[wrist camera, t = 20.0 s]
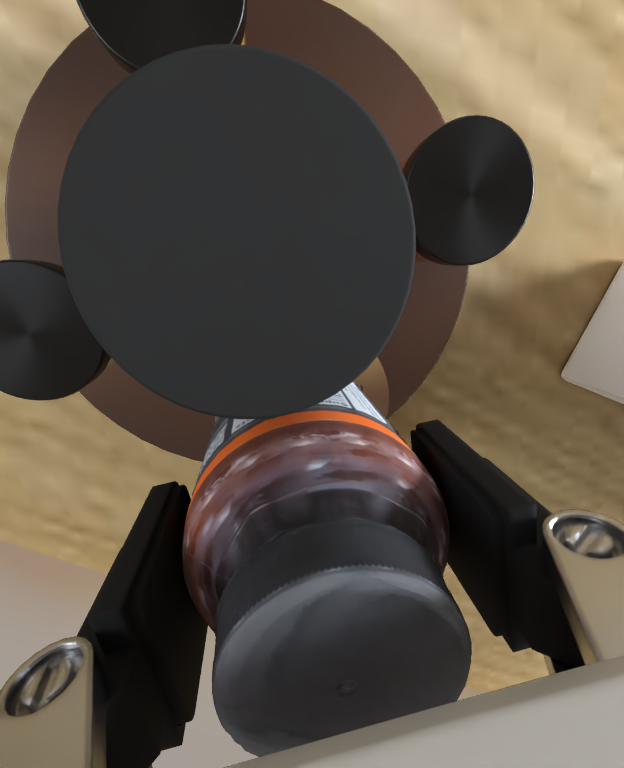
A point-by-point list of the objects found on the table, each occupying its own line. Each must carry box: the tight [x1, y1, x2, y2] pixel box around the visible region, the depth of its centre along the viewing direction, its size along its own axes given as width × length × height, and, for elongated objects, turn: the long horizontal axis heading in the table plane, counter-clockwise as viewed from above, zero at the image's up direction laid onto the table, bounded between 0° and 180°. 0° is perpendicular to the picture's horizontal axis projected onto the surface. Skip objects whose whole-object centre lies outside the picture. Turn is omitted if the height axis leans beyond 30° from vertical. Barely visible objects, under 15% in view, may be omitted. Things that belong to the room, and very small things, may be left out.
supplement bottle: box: [182, 381, 472, 757], centre depth 11 cm, size 6×6×11 cm
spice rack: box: [0, 0, 534, 462], centre depth 11 cm, size 19×18×12 cm
